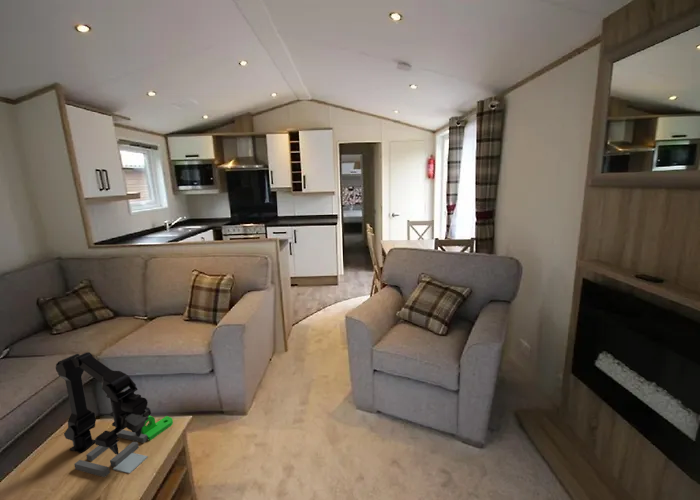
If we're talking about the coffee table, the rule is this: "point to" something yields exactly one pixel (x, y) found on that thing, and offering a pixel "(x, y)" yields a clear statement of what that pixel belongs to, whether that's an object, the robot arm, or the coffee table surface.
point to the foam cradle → (104, 470)
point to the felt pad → (130, 463)
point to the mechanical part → (156, 426)
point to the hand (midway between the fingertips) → (128, 445)
